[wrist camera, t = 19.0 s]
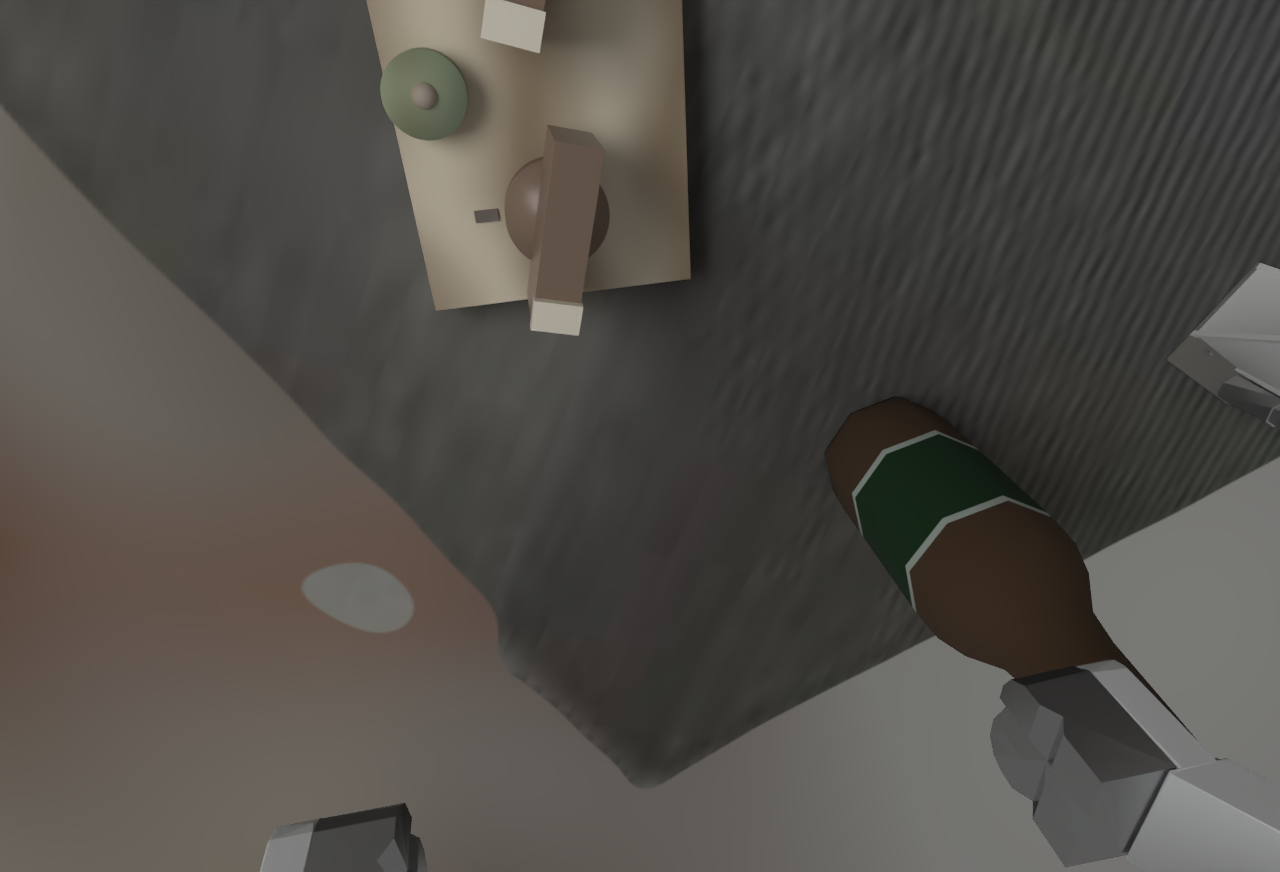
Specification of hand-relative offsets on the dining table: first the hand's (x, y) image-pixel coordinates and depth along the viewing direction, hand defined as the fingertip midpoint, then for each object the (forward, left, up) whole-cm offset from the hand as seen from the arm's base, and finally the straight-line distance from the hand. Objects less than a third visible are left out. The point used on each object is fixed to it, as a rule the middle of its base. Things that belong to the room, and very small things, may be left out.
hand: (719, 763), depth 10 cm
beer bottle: (-18, +16, -29) cm, 38 cm away
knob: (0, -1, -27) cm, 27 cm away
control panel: (0, -6, -29) cm, 30 cm away
